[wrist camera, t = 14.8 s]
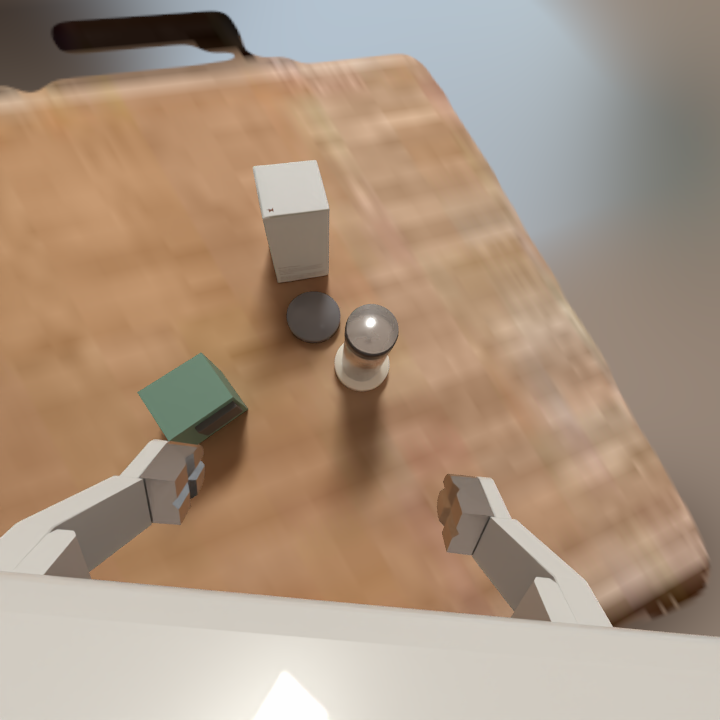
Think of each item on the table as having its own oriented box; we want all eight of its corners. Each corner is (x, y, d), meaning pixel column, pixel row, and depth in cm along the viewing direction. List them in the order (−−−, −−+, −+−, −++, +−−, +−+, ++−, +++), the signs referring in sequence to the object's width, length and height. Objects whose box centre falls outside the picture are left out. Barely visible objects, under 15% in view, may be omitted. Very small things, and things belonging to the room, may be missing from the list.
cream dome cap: (357, 402, 42) (358, 400, 41) (323, 360, 43) (323, 357, 42) (398, 370, 44) (400, 367, 43) (365, 330, 45) (366, 327, 44)
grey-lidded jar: (358, 390, 41) (369, 363, 31) (332, 358, 42) (334, 322, 32) (389, 366, 43) (410, 332, 32) (364, 336, 43) (376, 293, 33)
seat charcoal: (308, 353, 43) (307, 349, 42) (277, 313, 45) (275, 309, 43) (350, 324, 45) (351, 320, 44) (319, 287, 46) (319, 282, 45)
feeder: (198, 451, 38) (172, 446, 32) (168, 405, 40) (137, 392, 33) (251, 413, 40) (236, 402, 34) (221, 371, 41) (201, 352, 35)
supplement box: (329, 276, 47) (331, 210, 35) (277, 284, 46) (260, 218, 34) (319, 233, 49) (317, 158, 37) (269, 240, 48) (250, 164, 36)
